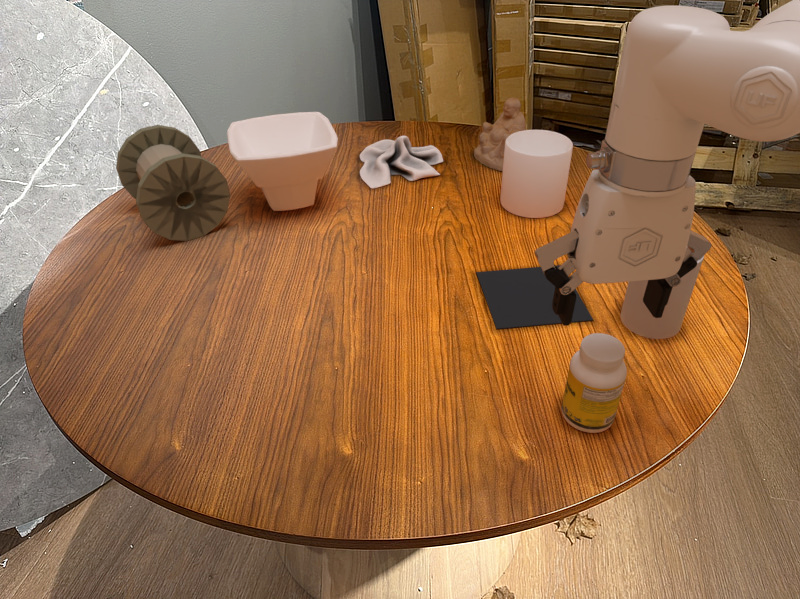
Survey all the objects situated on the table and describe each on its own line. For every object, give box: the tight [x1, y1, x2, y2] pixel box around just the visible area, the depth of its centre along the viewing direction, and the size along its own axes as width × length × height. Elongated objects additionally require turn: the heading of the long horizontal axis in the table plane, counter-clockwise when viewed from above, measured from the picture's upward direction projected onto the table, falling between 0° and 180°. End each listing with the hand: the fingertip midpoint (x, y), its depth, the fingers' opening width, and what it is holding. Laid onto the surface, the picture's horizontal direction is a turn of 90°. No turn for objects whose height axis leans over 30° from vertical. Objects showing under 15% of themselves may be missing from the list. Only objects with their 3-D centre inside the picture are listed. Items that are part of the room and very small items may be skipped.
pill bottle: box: [561, 332, 628, 434], centre depth 71 cm, size 6×6×11 cm
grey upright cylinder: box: [620, 246, 705, 340], centre depth 84 cm, size 8×8×12 cm
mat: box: [475, 264, 594, 330], centre depth 93 cm, size 14×14×1 cm
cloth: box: [359, 135, 444, 190], centre depth 128 cm, size 22×19×6 cm
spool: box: [115, 124, 231, 242], centre depth 110 cm, size 16×15×15 cm
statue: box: [473, 97, 527, 172], centre depth 129 cm, size 12×14×10 cm
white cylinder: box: [500, 129, 574, 219], centre depth 112 cm, size 12×12×12 cm
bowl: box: [226, 111, 339, 212], centre depth 114 cm, size 19×19×14 cm
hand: (607, 313), depth 65 cm, fingers open, 9 cm apart
